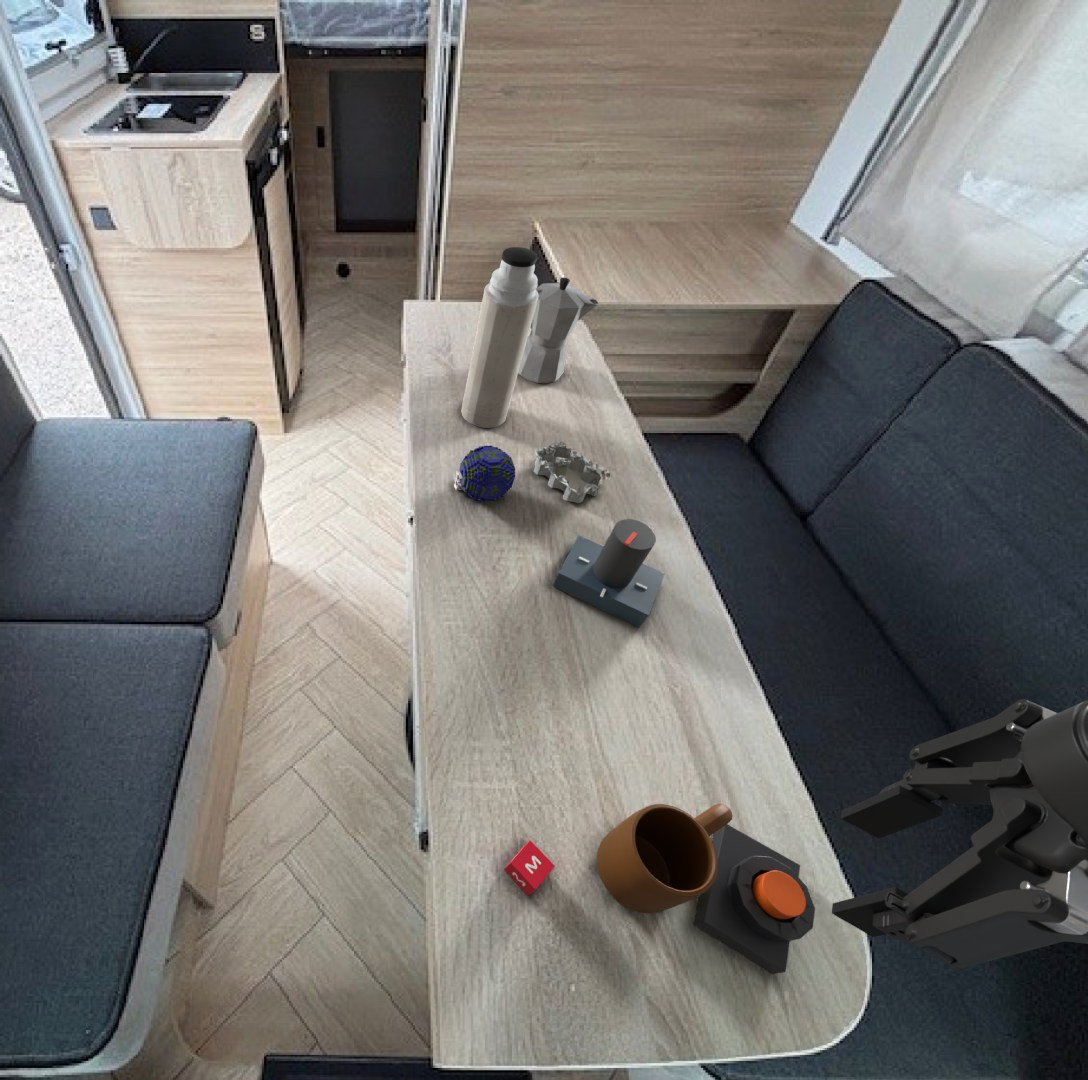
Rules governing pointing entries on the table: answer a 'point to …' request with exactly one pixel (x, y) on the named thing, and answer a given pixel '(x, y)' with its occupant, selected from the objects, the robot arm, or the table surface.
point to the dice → (529, 868)
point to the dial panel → (619, 602)
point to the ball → (485, 473)
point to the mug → (661, 857)
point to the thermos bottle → (501, 338)
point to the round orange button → (779, 895)
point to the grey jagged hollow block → (569, 471)
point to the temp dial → (624, 553)
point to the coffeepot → (552, 330)
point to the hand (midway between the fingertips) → (856, 869)
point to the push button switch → (750, 902)
